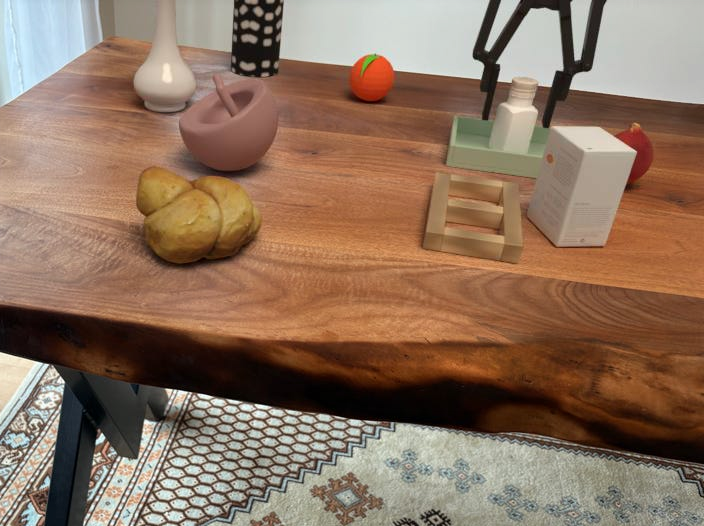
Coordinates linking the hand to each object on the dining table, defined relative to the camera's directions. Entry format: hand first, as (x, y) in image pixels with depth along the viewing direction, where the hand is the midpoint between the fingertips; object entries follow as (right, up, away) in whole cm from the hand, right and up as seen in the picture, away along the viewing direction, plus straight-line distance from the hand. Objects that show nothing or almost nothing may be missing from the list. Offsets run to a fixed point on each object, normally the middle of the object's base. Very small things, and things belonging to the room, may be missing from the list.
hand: (514, 120), depth 101 cm
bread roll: (-40, -20, -23) cm, 50 cm away
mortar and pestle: (-38, -7, -4) cm, 39 cm away
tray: (0, -4, +3) cm, 5 cm away
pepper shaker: (0, -4, +3) cm, 5 cm away
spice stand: (-10, -16, -15) cm, 24 cm away
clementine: (-15, +10, +21) cm, 28 cm away
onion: (+11, -10, -4) cm, 15 cm away
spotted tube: (-33, +19, +34) cm, 51 cm away
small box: (-1, -17, -16) cm, 24 cm away
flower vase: (-46, +7, +15) cm, 49 cm away
